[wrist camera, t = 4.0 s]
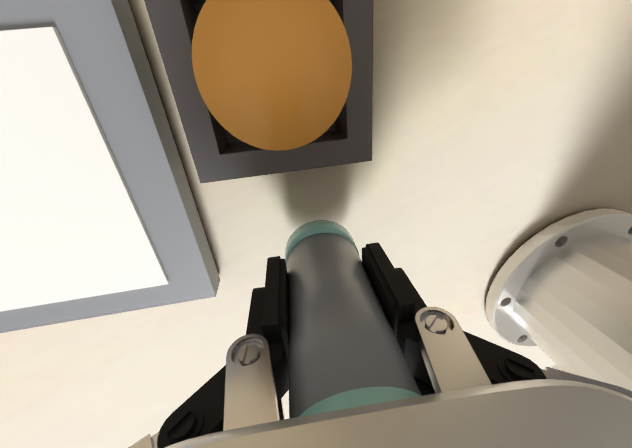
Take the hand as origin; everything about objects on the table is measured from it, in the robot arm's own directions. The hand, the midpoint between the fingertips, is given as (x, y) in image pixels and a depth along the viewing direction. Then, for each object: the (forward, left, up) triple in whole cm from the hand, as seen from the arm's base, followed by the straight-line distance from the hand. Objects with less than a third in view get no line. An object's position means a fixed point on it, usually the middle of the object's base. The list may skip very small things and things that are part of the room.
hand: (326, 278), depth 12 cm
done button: (+1, -8, -1) cm, 9 cm away
